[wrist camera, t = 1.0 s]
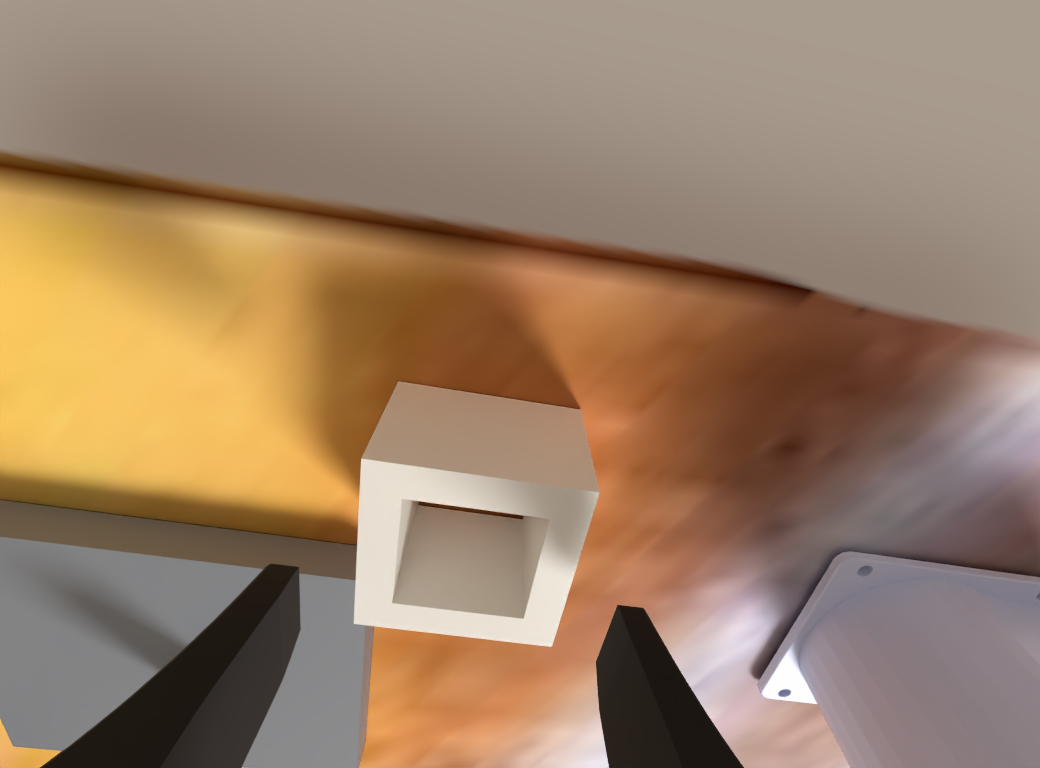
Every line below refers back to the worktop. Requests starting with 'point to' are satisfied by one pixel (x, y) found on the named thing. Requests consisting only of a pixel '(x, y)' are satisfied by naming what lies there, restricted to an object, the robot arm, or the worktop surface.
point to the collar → (472, 515)
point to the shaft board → (168, 626)
